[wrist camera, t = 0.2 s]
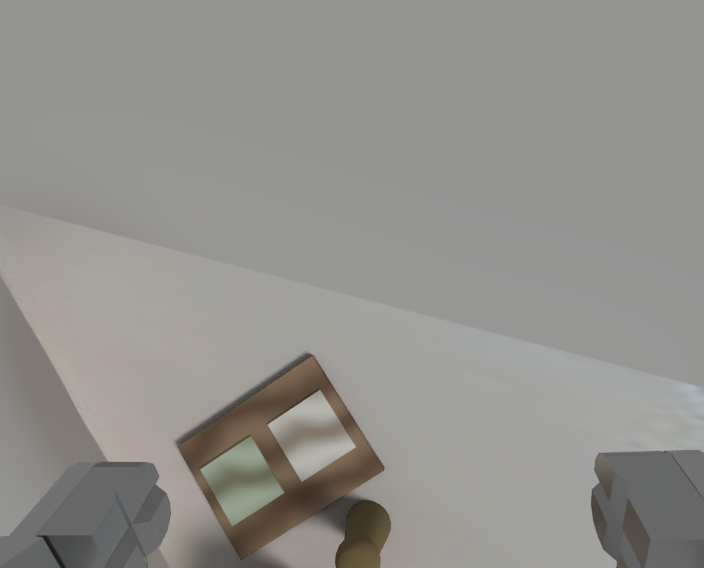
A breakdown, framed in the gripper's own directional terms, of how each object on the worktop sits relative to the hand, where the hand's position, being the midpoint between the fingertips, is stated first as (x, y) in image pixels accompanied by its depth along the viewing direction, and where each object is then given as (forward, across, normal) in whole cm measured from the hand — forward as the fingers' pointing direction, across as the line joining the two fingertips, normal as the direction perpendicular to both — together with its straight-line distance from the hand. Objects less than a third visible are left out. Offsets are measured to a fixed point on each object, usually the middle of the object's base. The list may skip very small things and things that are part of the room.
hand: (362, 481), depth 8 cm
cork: (+36, -8, -48) cm, 60 cm away
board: (+40, -20, -39) cm, 60 cm away
